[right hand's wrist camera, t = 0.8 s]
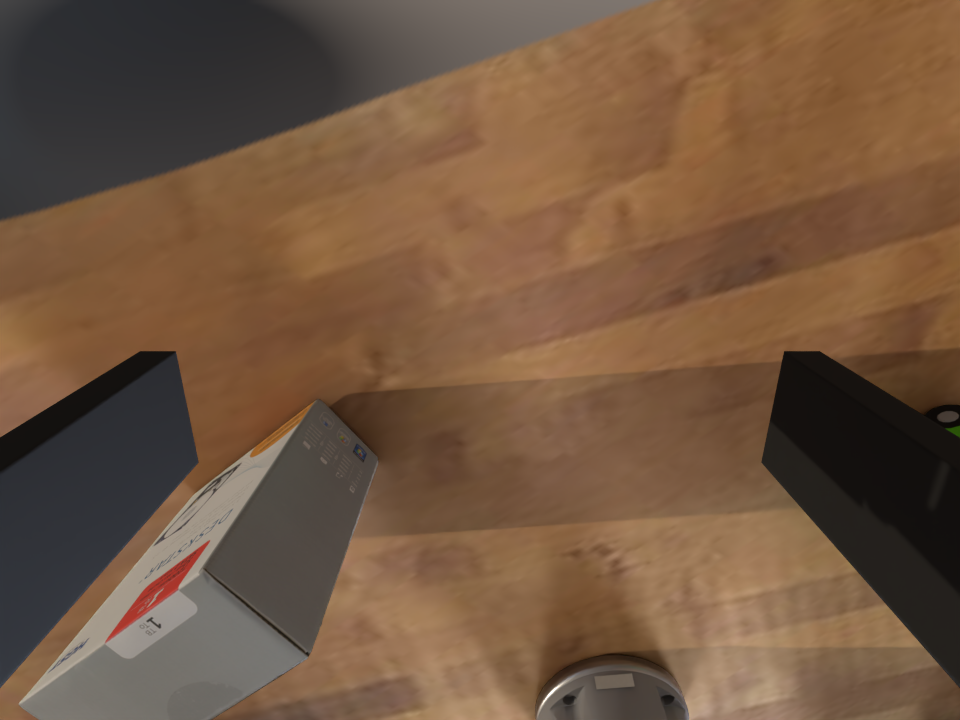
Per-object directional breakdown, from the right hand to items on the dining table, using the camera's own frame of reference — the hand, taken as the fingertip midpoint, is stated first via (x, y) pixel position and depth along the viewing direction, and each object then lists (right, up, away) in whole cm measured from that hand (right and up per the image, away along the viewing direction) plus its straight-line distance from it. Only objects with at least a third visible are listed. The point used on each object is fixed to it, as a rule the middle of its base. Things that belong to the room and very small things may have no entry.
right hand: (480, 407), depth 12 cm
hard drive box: (-17, -9, +36) cm, 41 cm away
